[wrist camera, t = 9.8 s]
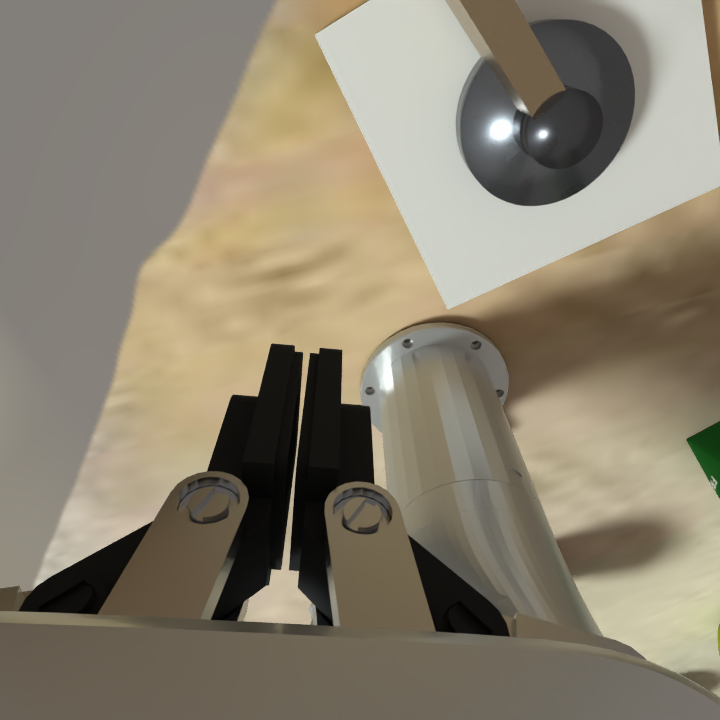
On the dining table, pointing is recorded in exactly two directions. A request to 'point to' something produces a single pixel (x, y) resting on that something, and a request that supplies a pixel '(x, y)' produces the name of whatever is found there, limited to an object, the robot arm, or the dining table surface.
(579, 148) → the cam dial
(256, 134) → the dining table surface
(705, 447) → the milk carton
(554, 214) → the base plate
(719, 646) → the fruit
